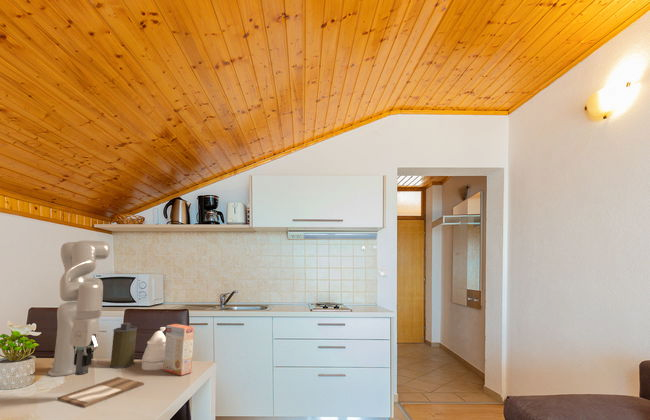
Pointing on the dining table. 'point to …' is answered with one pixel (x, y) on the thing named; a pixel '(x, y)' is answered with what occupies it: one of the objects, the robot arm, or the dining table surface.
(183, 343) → the cracker box
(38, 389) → the dining table surface
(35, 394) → the dining table surface
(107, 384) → the writing board
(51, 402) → the dining table surface
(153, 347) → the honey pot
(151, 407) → the dining table surface
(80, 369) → the marker
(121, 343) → the canister
